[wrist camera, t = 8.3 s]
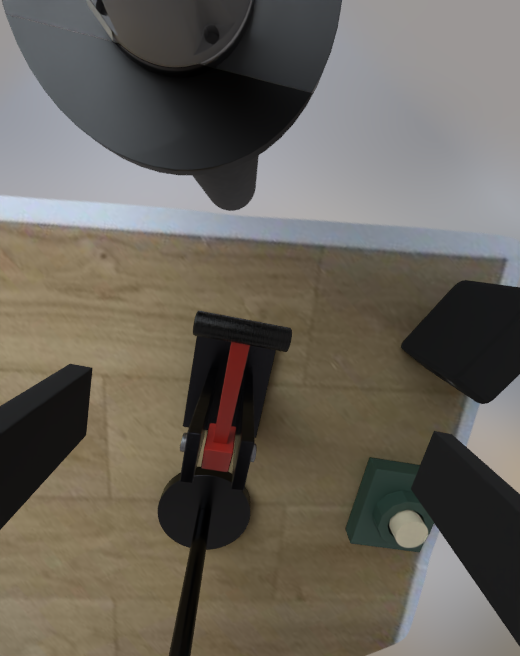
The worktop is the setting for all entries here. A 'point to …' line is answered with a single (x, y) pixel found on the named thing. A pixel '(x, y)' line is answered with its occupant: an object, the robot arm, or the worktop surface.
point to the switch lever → (233, 374)
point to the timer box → (384, 503)
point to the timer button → (408, 529)
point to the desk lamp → (200, 535)
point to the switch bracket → (207, 401)
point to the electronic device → (471, 339)
